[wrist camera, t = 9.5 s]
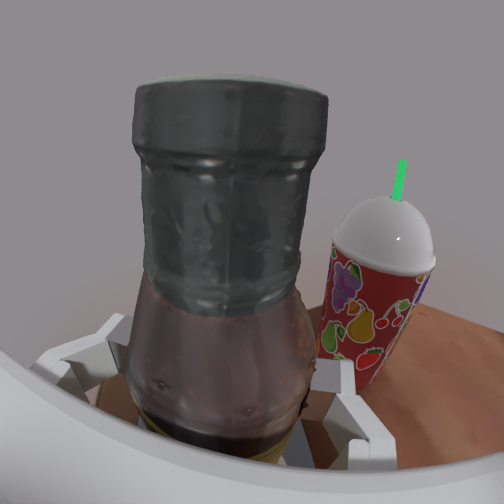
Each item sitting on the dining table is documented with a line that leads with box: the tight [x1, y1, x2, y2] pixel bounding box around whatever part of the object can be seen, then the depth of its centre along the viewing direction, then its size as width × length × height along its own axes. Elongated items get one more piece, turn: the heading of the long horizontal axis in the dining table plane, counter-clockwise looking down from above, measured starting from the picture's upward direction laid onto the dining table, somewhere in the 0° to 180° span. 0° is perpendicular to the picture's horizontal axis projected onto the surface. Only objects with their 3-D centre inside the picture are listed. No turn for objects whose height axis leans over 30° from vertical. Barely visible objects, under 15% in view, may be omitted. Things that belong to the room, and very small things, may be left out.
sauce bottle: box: [125, 74, 329, 464], centre depth 10 cm, size 7×6×20 cm
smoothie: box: [316, 160, 436, 390], centre depth 22 cm, size 8×8×20 cm
